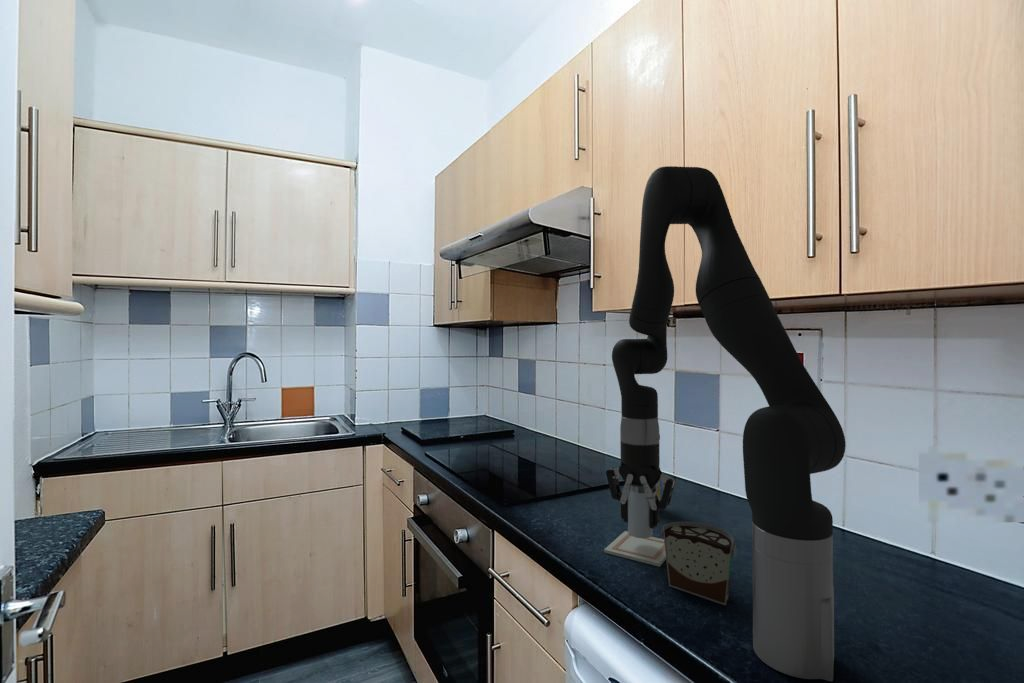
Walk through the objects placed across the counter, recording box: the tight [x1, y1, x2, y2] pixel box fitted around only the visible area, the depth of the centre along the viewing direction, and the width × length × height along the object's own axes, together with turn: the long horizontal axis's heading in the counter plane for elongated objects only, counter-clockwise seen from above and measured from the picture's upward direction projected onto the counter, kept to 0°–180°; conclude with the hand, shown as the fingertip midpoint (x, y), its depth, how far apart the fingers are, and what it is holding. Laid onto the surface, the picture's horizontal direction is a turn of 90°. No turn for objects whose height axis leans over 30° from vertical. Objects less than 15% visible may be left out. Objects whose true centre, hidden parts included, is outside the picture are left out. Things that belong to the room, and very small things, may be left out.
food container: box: [659, 521, 738, 606], centre depth 83 cm, size 12×6×10 cm, turn 48°
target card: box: [603, 530, 666, 568], centre depth 98 cm, size 11×11×1 cm
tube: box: [627, 484, 654, 538], centre depth 98 cm, size 5×5×10 cm
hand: (640, 523), depth 98 cm, fingers closed on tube, 4 cm apart
